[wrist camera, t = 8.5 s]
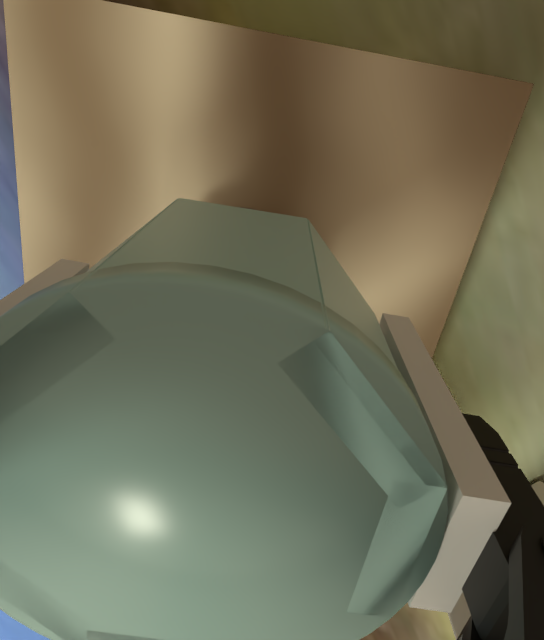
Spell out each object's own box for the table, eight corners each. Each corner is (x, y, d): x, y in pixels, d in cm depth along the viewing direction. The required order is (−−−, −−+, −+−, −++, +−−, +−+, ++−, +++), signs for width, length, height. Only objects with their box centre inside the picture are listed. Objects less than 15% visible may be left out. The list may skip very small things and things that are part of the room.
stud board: (50, 400, 21) (-174, 682, 11) (28, -8, 14) (-637, -297, 4) (382, 451, 22) (468, 761, 12) (511, 85, 15) (1004, 43, 5)
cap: (82, 439, 14) (-45, 648, 9) (72, 167, 11) (-152, 232, 5) (340, 475, 14) (372, 697, 9) (413, 222, 11) (538, 338, 6)
